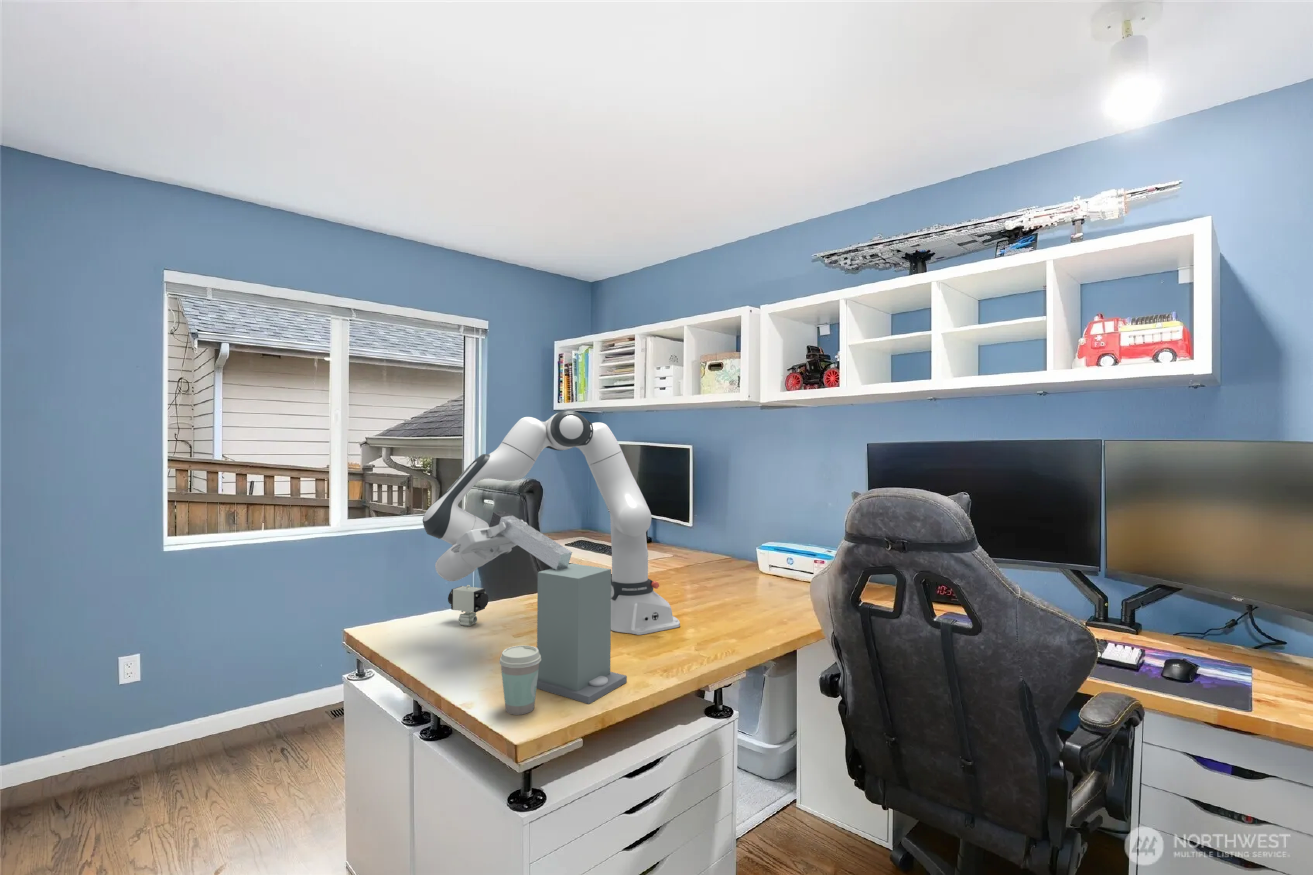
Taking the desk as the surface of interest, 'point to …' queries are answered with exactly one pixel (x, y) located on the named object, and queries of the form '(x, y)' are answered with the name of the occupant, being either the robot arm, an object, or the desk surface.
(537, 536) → the lever bar
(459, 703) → the desk surface
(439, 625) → the desk surface
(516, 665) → the coffee cup
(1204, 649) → the desk surface
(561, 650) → the press column
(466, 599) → the pneumatic valve
